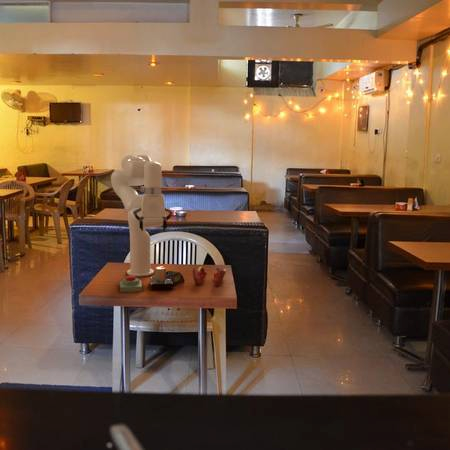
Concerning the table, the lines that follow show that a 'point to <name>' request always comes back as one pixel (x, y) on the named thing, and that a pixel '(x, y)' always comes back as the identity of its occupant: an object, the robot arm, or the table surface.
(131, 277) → the lid button
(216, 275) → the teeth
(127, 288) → the button base
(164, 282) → the dial panel
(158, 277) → the dial
